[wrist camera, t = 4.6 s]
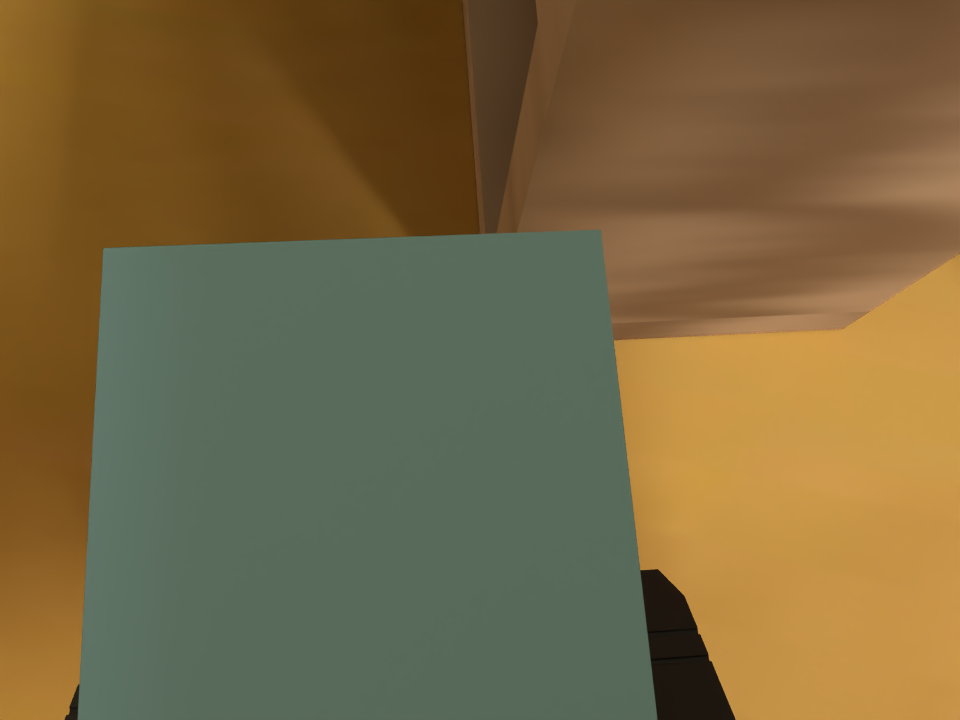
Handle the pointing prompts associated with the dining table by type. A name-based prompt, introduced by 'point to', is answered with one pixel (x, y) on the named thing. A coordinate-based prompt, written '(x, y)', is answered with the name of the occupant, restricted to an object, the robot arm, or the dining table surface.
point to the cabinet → (725, 150)
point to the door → (361, 485)
